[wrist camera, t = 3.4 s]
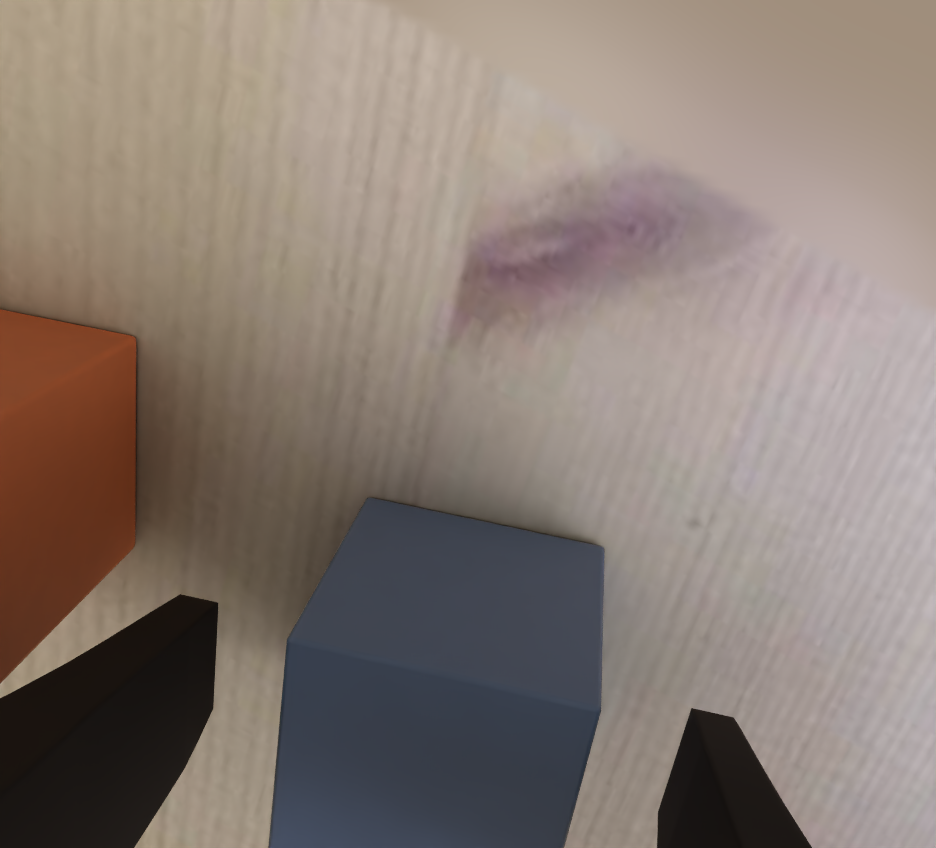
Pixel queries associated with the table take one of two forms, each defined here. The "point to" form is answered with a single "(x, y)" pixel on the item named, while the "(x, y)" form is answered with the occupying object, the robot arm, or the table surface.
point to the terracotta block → (61, 471)
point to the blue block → (440, 687)
